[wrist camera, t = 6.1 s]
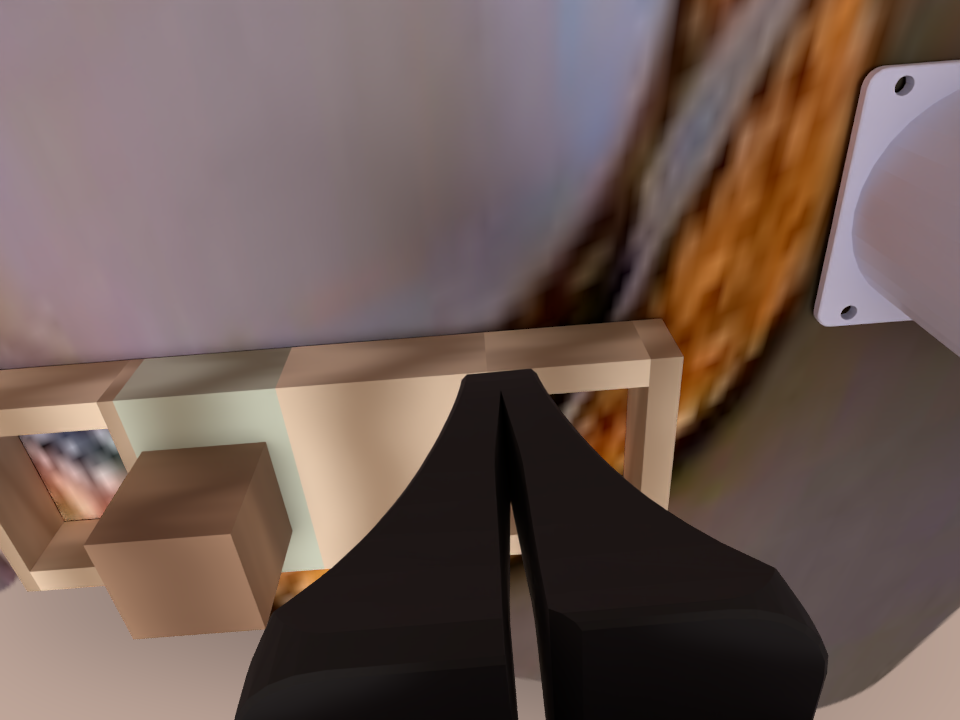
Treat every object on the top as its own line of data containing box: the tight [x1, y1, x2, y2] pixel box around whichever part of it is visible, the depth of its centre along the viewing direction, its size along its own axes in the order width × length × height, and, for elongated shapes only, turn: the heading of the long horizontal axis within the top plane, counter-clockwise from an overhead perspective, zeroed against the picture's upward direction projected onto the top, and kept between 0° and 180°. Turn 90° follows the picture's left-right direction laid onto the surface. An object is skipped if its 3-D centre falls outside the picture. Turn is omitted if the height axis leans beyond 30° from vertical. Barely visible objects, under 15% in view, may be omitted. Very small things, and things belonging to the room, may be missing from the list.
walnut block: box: [83, 442, 293, 639], centre depth 21 cm, size 4×4×4 cm
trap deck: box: [0, 319, 684, 592], centre depth 24 cm, size 24×8×2 cm, turn 94°
